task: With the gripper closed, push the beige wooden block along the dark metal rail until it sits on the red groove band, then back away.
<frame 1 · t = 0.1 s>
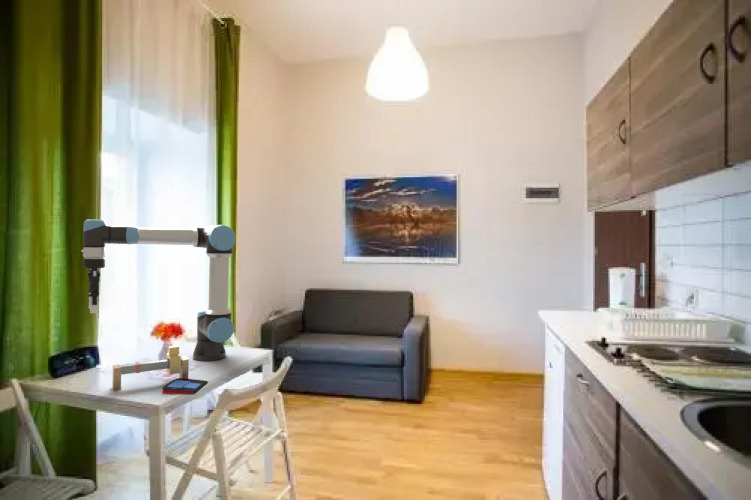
hand: (93, 310, 177), 28 cm above the table, tool pointing down, fingers open, 13 cm apart
game console: (185, 389, 170), on the table
grey rail on posts: (151, 383, 174), on the table
beige wooden block: (173, 359, 179), point 9 cm above the table, slide at 0.0 cm
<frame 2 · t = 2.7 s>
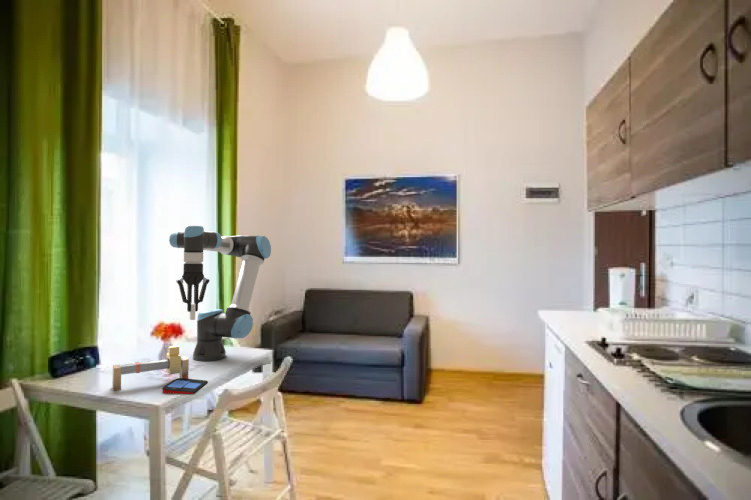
hand: (192, 319, 183), 24 cm above the table, tool pointing down, fingers closed
nothing on the table moved.
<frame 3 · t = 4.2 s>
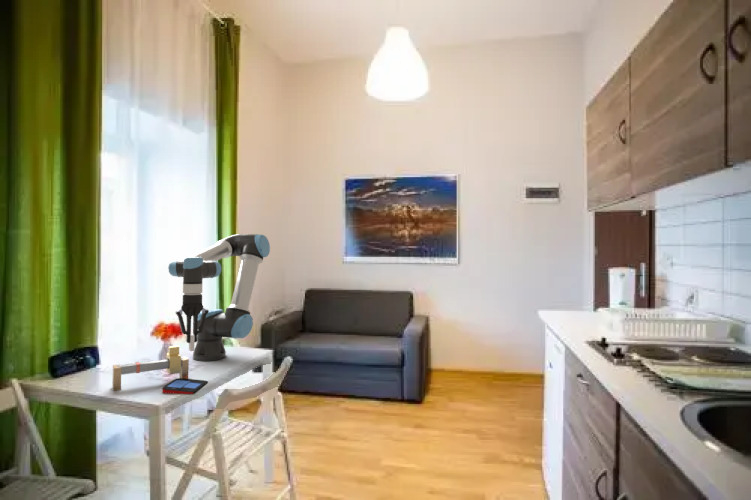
hand: (191, 350, 183), 11 cm above the table, tool pointing down, fingers closed
nothing on the table moved.
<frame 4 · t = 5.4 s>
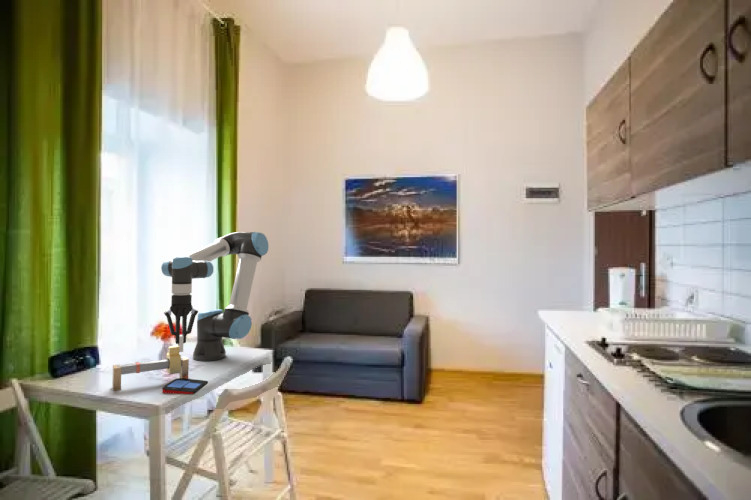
hand: (180, 351, 180), 12 cm above the table, tool pointing down, fingers closed
beige wooden block: (173, 359, 179), point 9 cm above the table, slide at 0.0 cm, touching gripper
everything else where it was.
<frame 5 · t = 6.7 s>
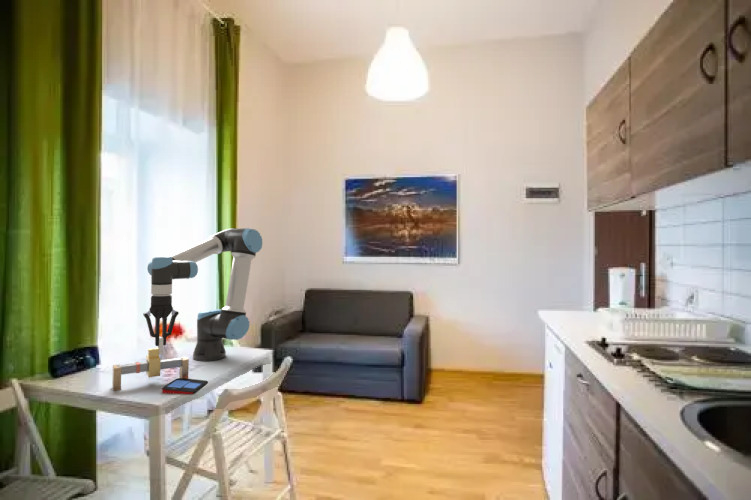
hand: (160, 353, 176), 12 cm above the table, tool pointing down, fingers closed
beige wooden block: (153, 361, 174), point 9 cm above the table, slide at 7.5 cm, touching gripper
everything else where it was.
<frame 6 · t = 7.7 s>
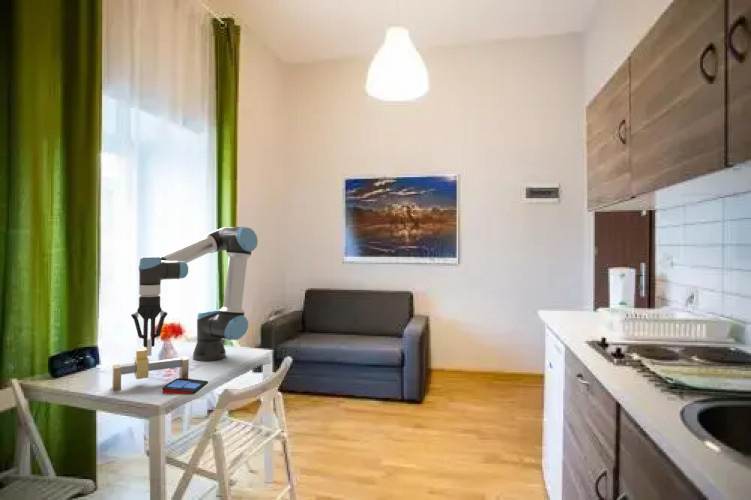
hand: (148, 355, 173), 11 cm above the table, tool pointing down, fingers closed
beige wooden block: (141, 363, 172), point 9 cm above the table, slide at 11.7 cm, touching gripper
everything else where it was.
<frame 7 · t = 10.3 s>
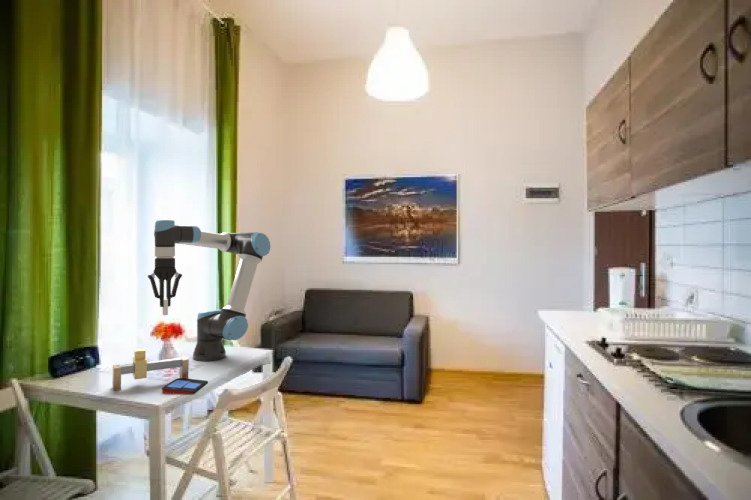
hand: (165, 314, 180), 26 cm above the table, tool pointing down, fingers closed
beige wooden block: (139, 363, 172), point 9 cm above the table, slide at 12.3 cm
everything else where it was.
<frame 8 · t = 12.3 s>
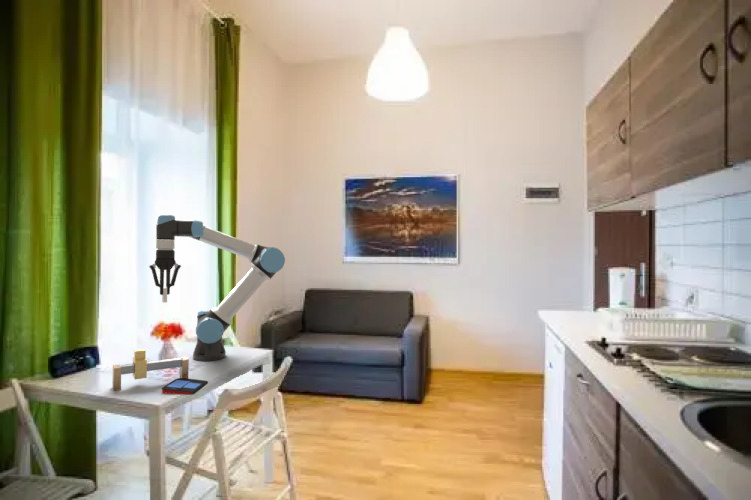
hand: (164, 302, 197), 29 cm above the table, tool pointing down, fingers closed
nothing on the table moved.
at the end: beige wooden block slide at 12.3 cm; the gripper is holding nothing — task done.
